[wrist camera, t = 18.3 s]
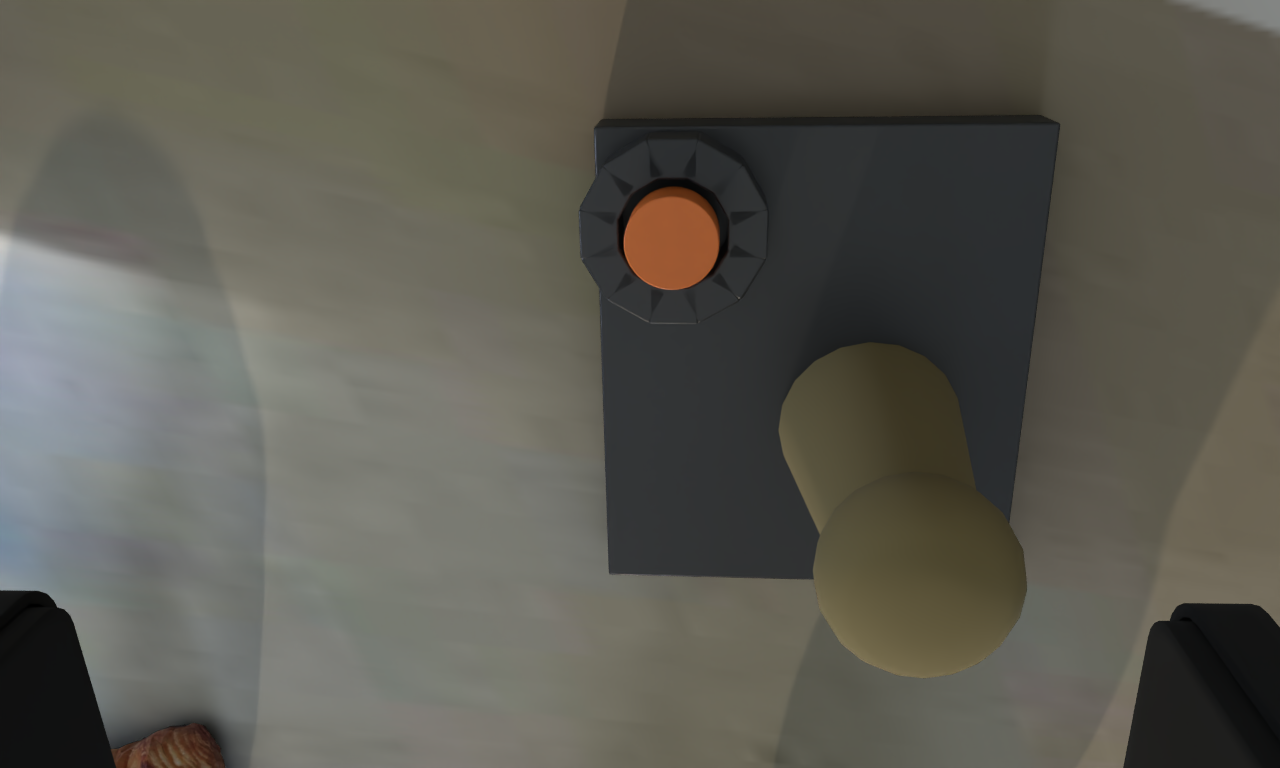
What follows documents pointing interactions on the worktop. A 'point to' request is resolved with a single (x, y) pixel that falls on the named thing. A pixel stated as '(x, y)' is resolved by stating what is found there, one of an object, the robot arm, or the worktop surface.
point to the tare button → (672, 238)
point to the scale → (803, 310)
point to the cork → (899, 514)
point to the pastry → (172, 750)
